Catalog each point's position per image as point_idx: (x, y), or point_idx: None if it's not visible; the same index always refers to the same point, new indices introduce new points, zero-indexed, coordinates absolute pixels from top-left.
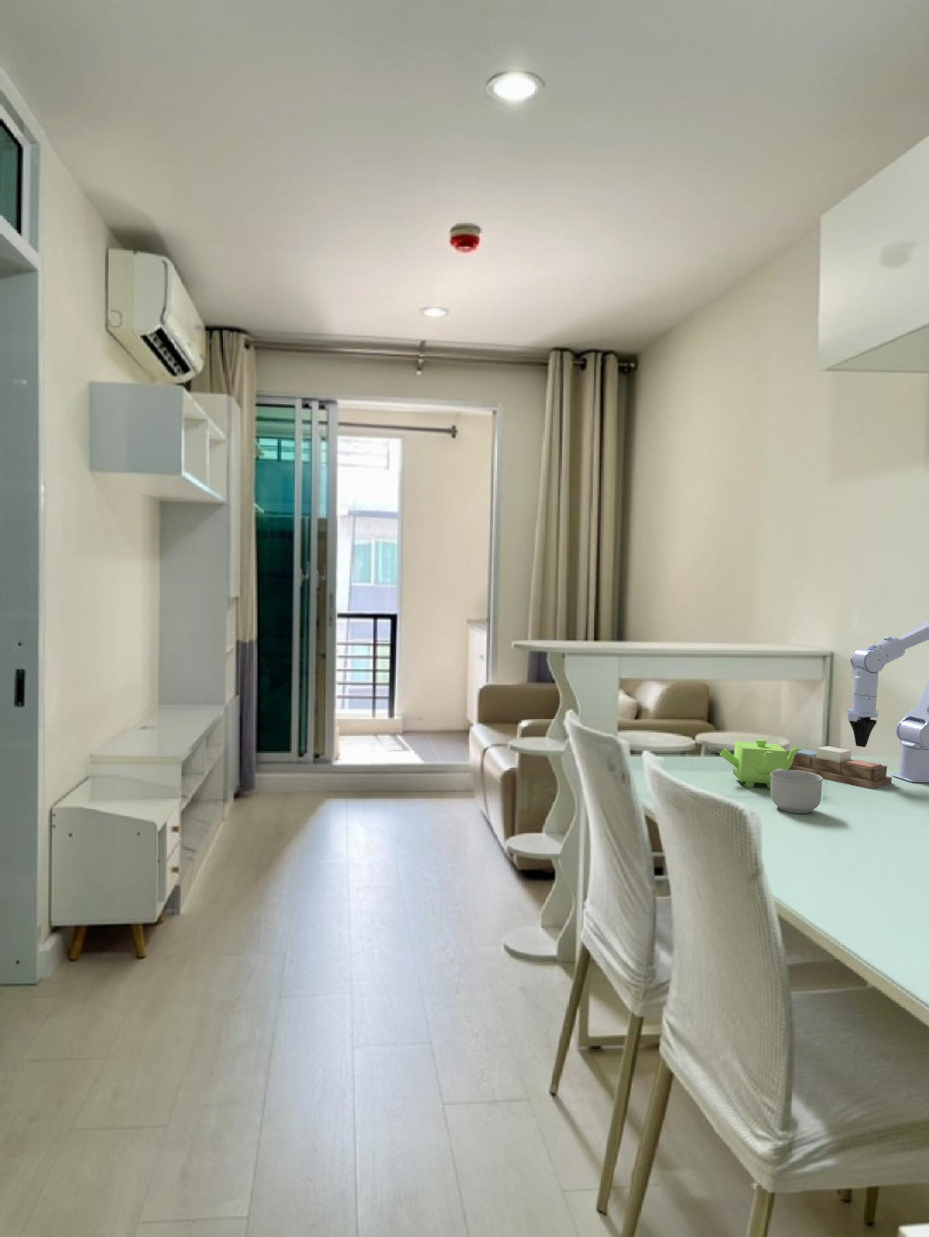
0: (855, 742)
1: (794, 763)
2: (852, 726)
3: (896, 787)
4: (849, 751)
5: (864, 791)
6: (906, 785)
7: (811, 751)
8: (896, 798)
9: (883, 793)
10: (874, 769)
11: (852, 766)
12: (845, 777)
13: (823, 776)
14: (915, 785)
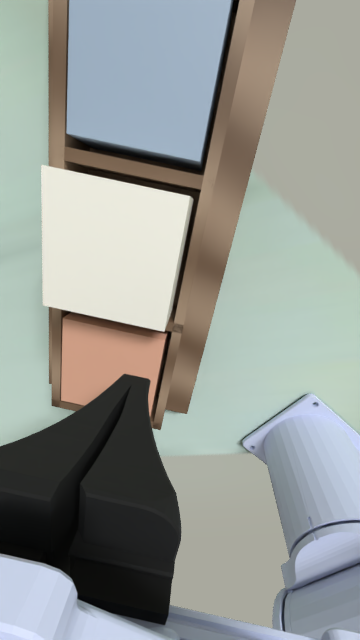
0: (118, 379)
1: None
2: (30, 440)
3: None
4: (146, 326)
5: (5, 363)
6: (192, 431)
7: (186, 97)
8: (9, 425)
9: (32, 400)
10: (57, 406)
11: (54, 340)
12: (50, 309)
13: None
14: (213, 447)
